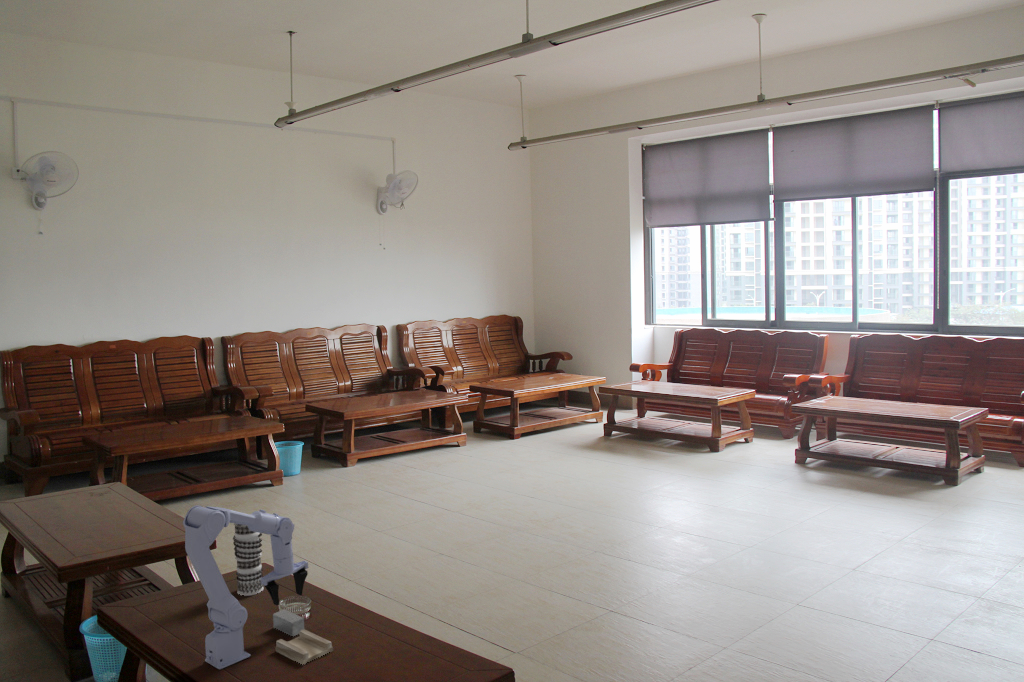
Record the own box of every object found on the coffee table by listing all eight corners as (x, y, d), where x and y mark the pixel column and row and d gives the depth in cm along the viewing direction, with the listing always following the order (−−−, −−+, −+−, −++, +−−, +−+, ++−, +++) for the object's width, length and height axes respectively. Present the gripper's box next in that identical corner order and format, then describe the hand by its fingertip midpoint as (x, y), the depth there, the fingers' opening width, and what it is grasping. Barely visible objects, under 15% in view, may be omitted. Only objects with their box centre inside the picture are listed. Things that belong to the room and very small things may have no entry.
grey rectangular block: (292, 637, 227) (292, 622, 227) (273, 628, 234) (272, 613, 233) (304, 632, 230) (303, 618, 230) (285, 623, 237) (284, 609, 236)
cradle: (302, 665, 210) (302, 655, 210) (275, 651, 219) (275, 641, 219) (333, 651, 218) (332, 641, 218) (305, 637, 226) (305, 628, 226)
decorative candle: (249, 583, 268) (245, 512, 266) (270, 587, 265) (266, 515, 262) (230, 593, 260) (225, 520, 258) (251, 597, 256) (247, 523, 254)
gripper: (297, 544, 237) (302, 586, 239) (253, 561, 227) (258, 604, 229) (310, 549, 232) (314, 592, 234) (265, 567, 222) (270, 611, 224)
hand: (288, 599), depth 231 cm, fingers open, 7 cm apart
